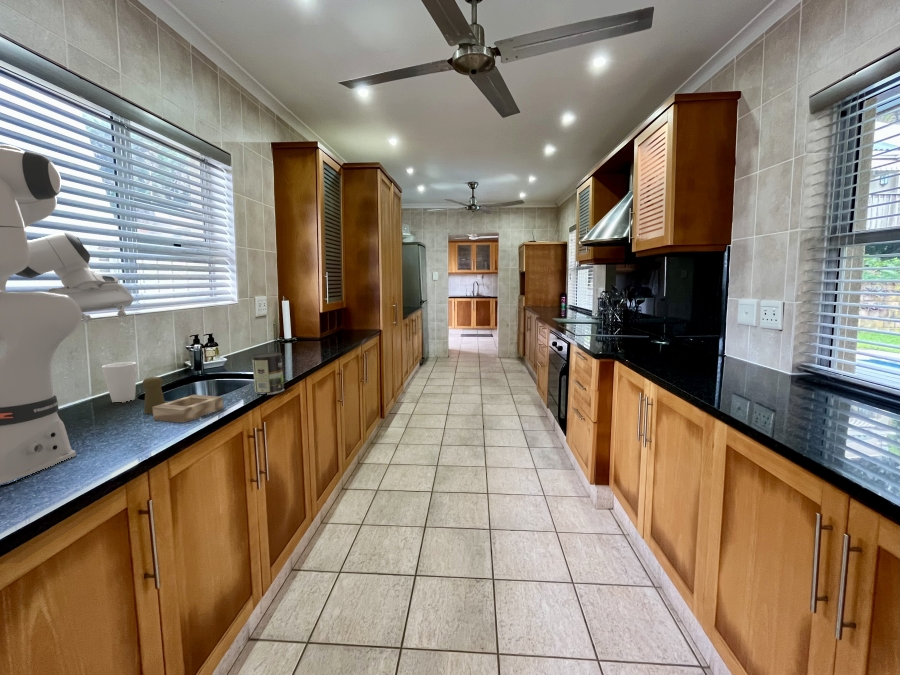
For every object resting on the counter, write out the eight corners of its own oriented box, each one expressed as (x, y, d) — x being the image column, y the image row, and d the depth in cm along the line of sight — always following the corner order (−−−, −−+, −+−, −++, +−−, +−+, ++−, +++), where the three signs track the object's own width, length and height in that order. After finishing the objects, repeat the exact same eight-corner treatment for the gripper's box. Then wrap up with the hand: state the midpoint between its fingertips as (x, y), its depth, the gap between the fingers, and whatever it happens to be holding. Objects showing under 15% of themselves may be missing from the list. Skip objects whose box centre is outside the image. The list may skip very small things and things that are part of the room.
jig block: (184, 423, 119) (182, 409, 118) (153, 419, 122) (152, 406, 122) (223, 408, 132) (222, 396, 131) (195, 406, 136) (193, 394, 135)
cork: (155, 414, 128) (151, 380, 126) (139, 413, 129) (135, 379, 127) (171, 408, 134) (168, 375, 132) (156, 407, 135) (152, 375, 133)
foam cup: (139, 395, 151) (135, 360, 149) (141, 400, 144) (136, 364, 142) (106, 400, 145) (101, 364, 143) (106, 405, 138) (101, 368, 136)
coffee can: (284, 386, 160) (282, 351, 158) (284, 393, 150) (281, 355, 148) (255, 389, 156) (252, 353, 154) (253, 396, 146) (250, 358, 144)
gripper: (44, 282, 121) (68, 318, 119) (122, 276, 139) (143, 308, 137) (40, 295, 124) (63, 331, 122) (116, 288, 142) (138, 319, 140)
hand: (106, 318), depth 130 cm, fingers open, 8 cm apart
